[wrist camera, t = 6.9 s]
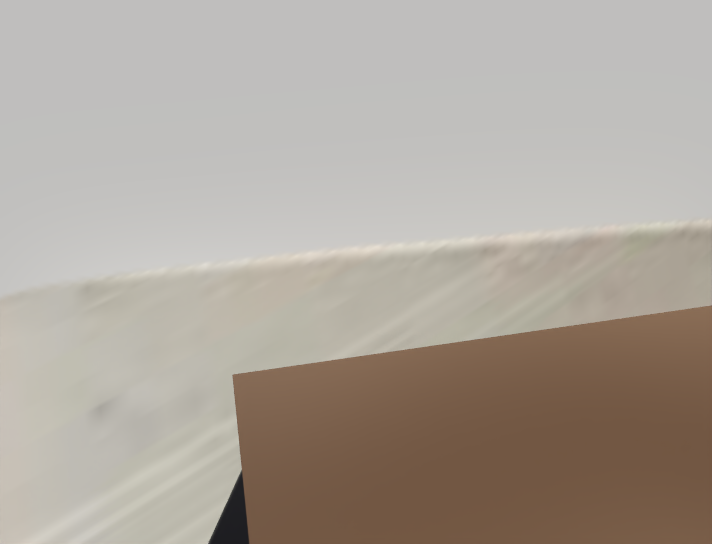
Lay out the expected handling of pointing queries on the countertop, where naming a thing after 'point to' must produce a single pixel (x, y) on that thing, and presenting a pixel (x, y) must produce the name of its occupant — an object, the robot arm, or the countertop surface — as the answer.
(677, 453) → the walnut pillar
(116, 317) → the countertop surface
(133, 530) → the countertop surface
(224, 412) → the countertop surface
